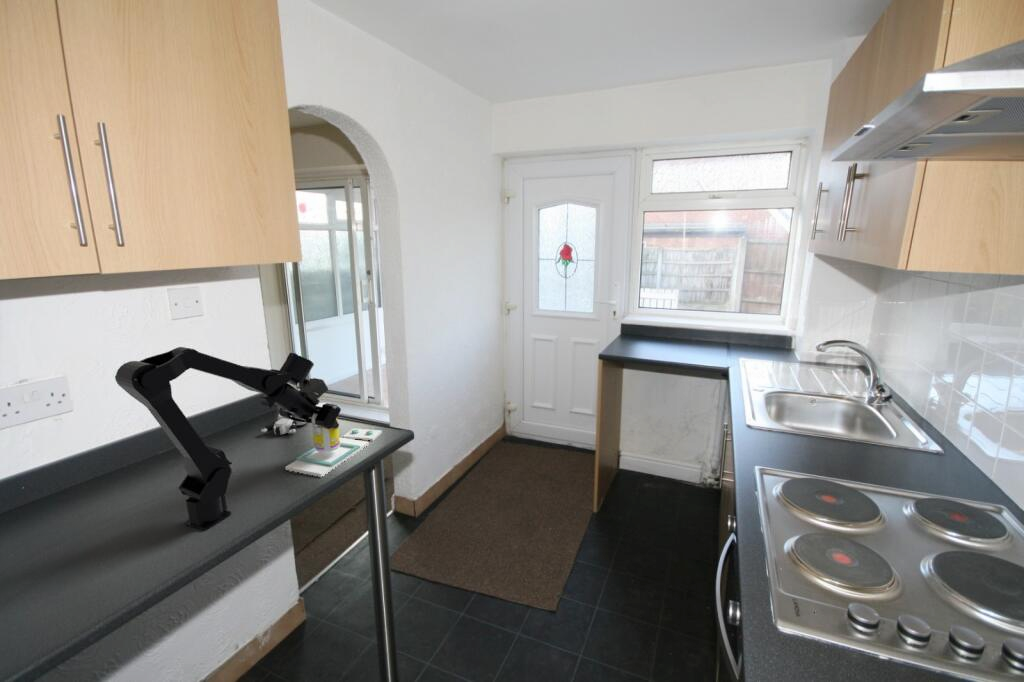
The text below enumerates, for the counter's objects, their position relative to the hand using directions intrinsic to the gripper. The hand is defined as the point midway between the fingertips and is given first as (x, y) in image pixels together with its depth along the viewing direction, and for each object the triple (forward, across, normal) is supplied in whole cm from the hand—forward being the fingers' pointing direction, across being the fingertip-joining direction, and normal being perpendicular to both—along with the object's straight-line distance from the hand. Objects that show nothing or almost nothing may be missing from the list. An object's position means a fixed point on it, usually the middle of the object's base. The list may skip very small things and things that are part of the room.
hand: (329, 424), depth 132 cm
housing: (+6, 0, +7) cm, 10 cm away
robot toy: (+12, +29, +1) cm, 31 cm away
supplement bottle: (+4, 0, +6) cm, 7 cm away
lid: (+16, +2, -3) cm, 17 cm away
